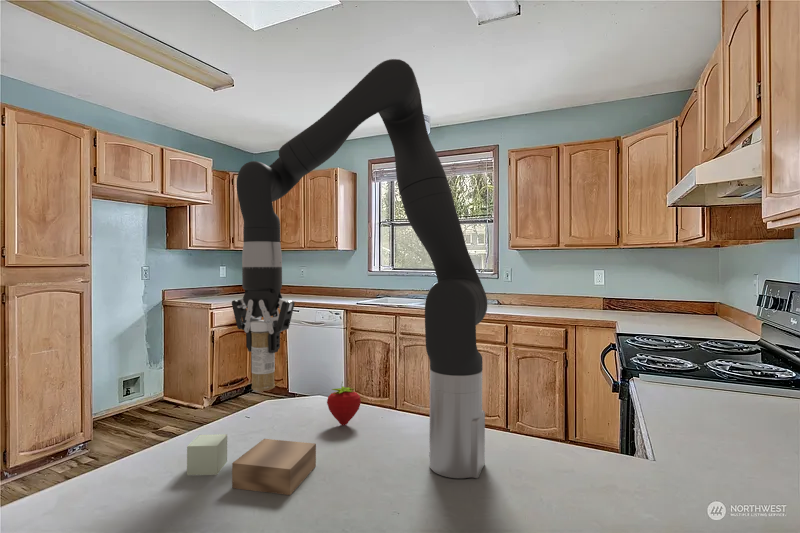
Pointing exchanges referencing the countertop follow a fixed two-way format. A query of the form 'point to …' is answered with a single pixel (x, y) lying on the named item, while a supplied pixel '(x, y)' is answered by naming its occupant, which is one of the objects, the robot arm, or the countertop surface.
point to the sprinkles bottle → (261, 358)
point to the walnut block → (274, 466)
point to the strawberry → (343, 404)
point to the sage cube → (207, 455)
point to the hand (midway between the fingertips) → (262, 351)
